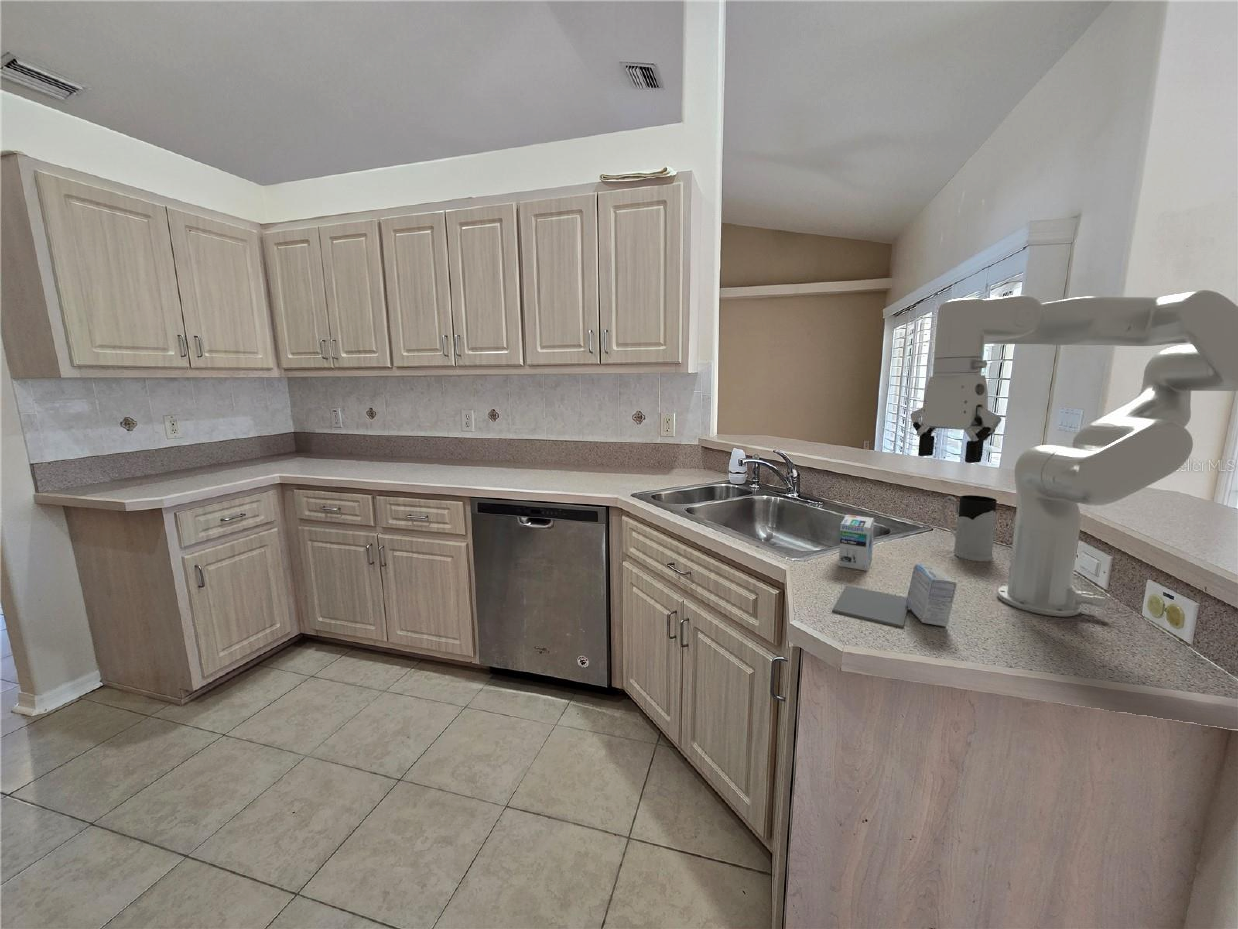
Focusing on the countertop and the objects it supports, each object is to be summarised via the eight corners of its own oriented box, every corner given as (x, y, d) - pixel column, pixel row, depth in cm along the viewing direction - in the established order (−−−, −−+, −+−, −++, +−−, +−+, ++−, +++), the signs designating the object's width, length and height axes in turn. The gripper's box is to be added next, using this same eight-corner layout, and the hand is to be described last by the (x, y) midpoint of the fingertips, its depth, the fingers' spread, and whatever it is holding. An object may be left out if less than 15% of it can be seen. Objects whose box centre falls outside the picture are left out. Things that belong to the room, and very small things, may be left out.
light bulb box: (868, 571, 115) (871, 527, 114) (837, 566, 119) (839, 523, 117) (872, 558, 124) (875, 517, 123) (843, 554, 128) (846, 514, 126)
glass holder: (974, 563, 120) (980, 503, 118) (926, 545, 134) (930, 491, 131) (1002, 559, 122) (1009, 501, 120) (952, 542, 136) (957, 489, 133)
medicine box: (947, 628, 88) (959, 583, 86) (920, 623, 89) (931, 578, 87) (928, 609, 96) (939, 567, 94) (904, 604, 96) (914, 563, 95)
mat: (909, 600, 100) (909, 598, 99) (903, 628, 88) (903, 625, 88) (845, 587, 106) (846, 585, 106) (832, 611, 95) (832, 609, 95)
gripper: (1020, 366, 84) (1009, 464, 87) (930, 370, 101) (923, 452, 103) (988, 366, 82) (978, 466, 85) (901, 370, 98) (895, 454, 101)
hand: (948, 458), depth 94 cm, fingers open, 9 cm apart
